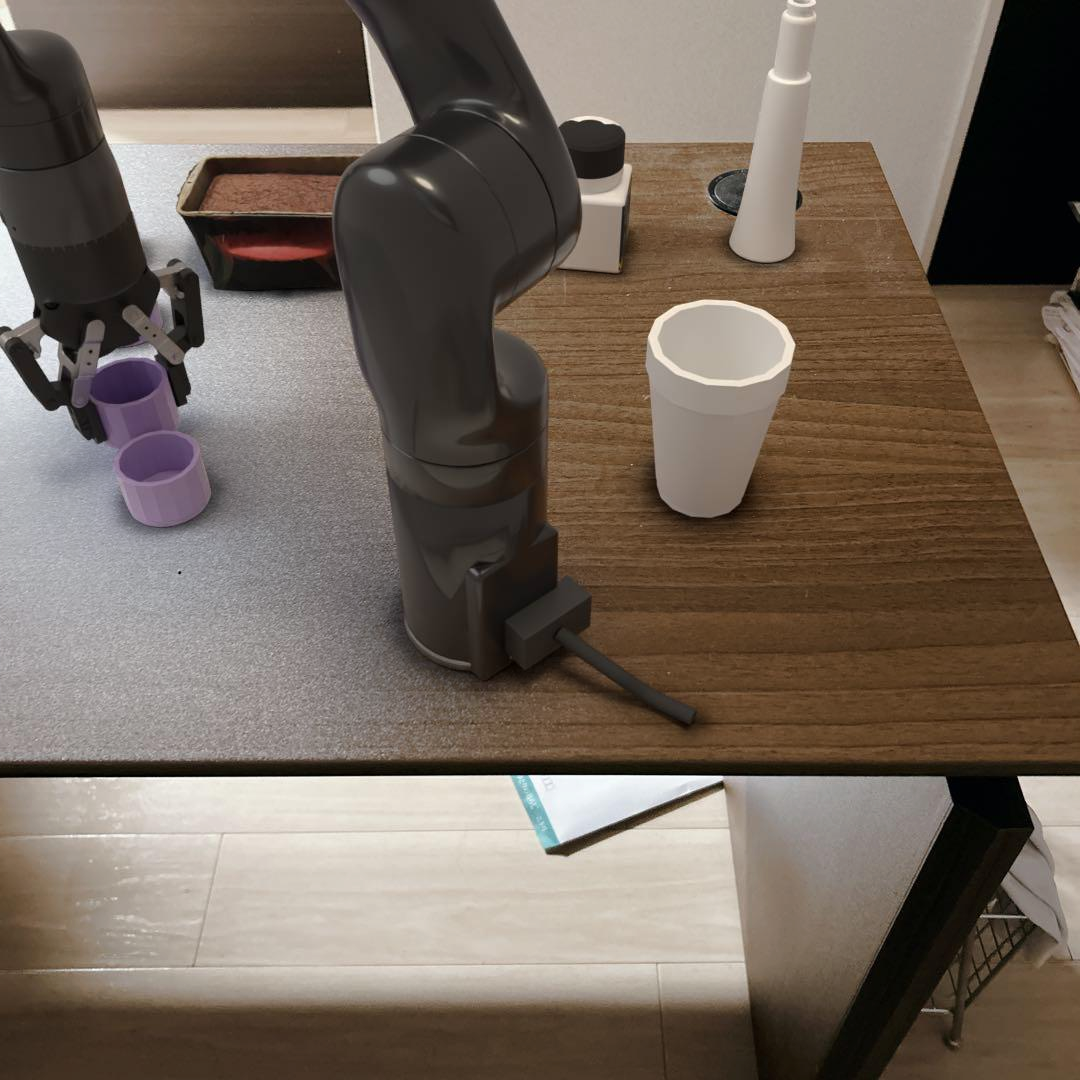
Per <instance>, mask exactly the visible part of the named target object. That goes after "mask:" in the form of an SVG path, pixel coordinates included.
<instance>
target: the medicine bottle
mask: <svg viewBox="0 0 1080 1080" xmlns="http://www.w3.org/2000/svg"><path fill="white" fill-rule="evenodd" d="M558 128H559V130H560V132H561V134H562V137H563V139H564V141H565V144H566V146H567V149H568V151H569V154H570V157H571V159H572V162H573V165H574V168H575V171H576V175H577V179H578V182H579V187H580V192H581V201H582V225H581V231H580V234H579V237H578V241H577V243H576V246H575V248H574V249H573V251H572V252H571V254H570V255H569V256H568V257H567V259H566V260H565V261H564V262H563V263H562V264H561V265H560V266H559V267H558V268H557V269H564V270H565V269H566V270H575V271H576V270H577V271H585V272H598V273H610V274H619V273H620V272H621V271H622V266H623V261H624V255H625V250H626V245H627V239H628V235H629V226H630V211H631V198H632V196H631V195H632V183H633V182H632V181H633V165H632V164H631V163H625V155H626V154H625V153H626V132H625V130H624V128H623V127H622V126H621V125H620V124H619V123H617V122H616V121H614V120H612V119H610V118H606V117H602V116H597V115H583V116H577V117H572V118H570V119H567V120H565V121H564V122H562V123H561V124H559V126H558Z"/></svg>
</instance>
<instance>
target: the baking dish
mask: <svg viewBox="0 0 1080 1080" xmlns="http://www.w3.org/2000/svg"><path fill="white" fill-rule="evenodd" d="M364 154H365V153H364ZM364 154H363V153H353V154H351V153H349V154H343V153H339V154H230V155H228V154H227V155H225V154H224V155H223V154H222V155H221V154H219V155H218V154H217V155H212V156H211V155H208V156H206V157H204V158H202V159H201V160H200V161H198V162H197V163H196V164H195V165H194V166H193V167H192V169H191V170H189V171H188V173H187V174H188V175H187V176H186V180H185V181H184V182H183V184H182V185H181V187H180V191H179V193H177V194H176V196H177V201H176V205H175V210H176V213H178V215H179V216H180V217H181V218H182V220H183V221H184V223H185V225H186V227H187V228H188V230H189V232H190V233H191V236H192V237H193V239H194V241H195V243H196V245H197V248H198V251H199V253H200V254H201V257H202V260H203V262H204V264H205V266H206V269H207V271H208V273H209V276H210V279H211V280H212V283H213V288H214V289H216V290H223V291H249V290H250V291H251V290H252V291H255V290H256V291H258V290H278V289H279V290H280V289H281V290H282V289H301V288H318V287H319V288H320V287H335V286H342V284H341V280H340V275H339V270H338V265H337V260H336V254H335V249H334V241H333V232H332V207H333V199H334V194H335V190H336V187H337V184H338V182H339V179H340V177H341V176H342V174H343V173H344V171H345V170H346V168H347V167H348V166H349V165H350V164H352V163H353V162H354V161H355V160H357V159H358V158H360V157H361V156H363V155H364Z"/></svg>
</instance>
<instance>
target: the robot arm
mask: <svg viewBox="0 0 1080 1080" xmlns="http://www.w3.org/2000/svg"><path fill="white" fill-rule="evenodd" d="M344 2H345V3H346V4H347V5H348V6H349V8H350V9H352V11H353V12H354V14H355V15H356V17H357V18H358V19H359V21H360V22H361V23H362V24H363V26H364V28H365V29H366V30H367V32H368V34H369V35H370V37H371V38H372V40H373V42H374V43H375V45H376V46H377V49H378V51H379V52H380V54H381V56H382V58H383V60H384V61H385V63H386V66H387V67H388V69H389V71H390V73H391V75H392V77H393V79H394V81H395V83H396V86H397V87H398V90H399V92H400V94H401V96H402V98H403V101H404V103H405V106H406V108H407V109H408V112H409V114H410V118H411V121H412V123H413V126H411V127H409V128H408V129H406V130H403V131H402V132H400V133H399V134H397V135H395V136H393V137H392V138H389V139H388V140H386V141H385V142H383V143H381V144H380V145H378V146H376V147H375V148H372V149H371V150H369V151H368V152H366V153H364V155H363V156H361V157H360V158H358V159H357V160H355V161H354V162H353V163H352V164H350V165H349V166H348V167H347V168H346V170H345V171H344V173H343V174H342V176H341V177H340V179H339V182H338V184H337V187H336V190H335V194H334V199H333V207H332V232H333V241H334V249H335V254H336V260H337V265H338V270H339V275H340V280H341V284H342V285H341V288H342V294H343V298H344V303H345V307H346V310H347V311H346V312H347V317H348V322H349V327H350V332H351V336H352V342H353V346H354V351H355V356H356V359H357V360H356V361H357V363H358V367H359V369H360V372H361V374H362V377H363V379H364V381H365V384H366V385H367V388H368V390H369V392H370V394H371V395H372V397H373V399H374V402H375V404H376V407H377V411H378V419H379V423H380V431H381V439H382V447H383V455H384V464H385V473H386V479H387V487H388V497H389V503H390V511H391V512H390V513H391V518H392V526H393V527H392V528H393V534H394V541H395V550H396V559H397V564H398V565H397V566H398V574H399V581H400V587H401V595H402V602H403V606H402V608H403V610H402V612H403V613H402V614H403V622H404V628H405V632H406V634H407V636H408V638H409V640H410V642H411V643H412V645H413V646H414V647H415V648H416V649H417V651H419V652H420V654H422V655H423V656H424V657H426V658H427V659H429V660H430V661H432V662H434V663H436V664H438V665H440V666H442V667H446V668H449V669H453V670H459V671H466V672H470V673H471V672H472V673H473V674H474V675H476V677H478V678H479V680H481V681H487V680H488V679H490V678H492V677H493V676H494V675H496V674H497V673H499V672H501V671H502V670H504V669H505V668H507V667H508V666H509V665H511V664H513V663H514V662H515V663H516V664H518V666H520V667H521V669H523V670H524V671H527V670H528V669H530V668H531V667H532V666H534V665H535V664H537V663H539V662H540V661H541V660H543V659H544V658H546V657H548V656H549V655H550V654H551V653H552V654H553V652H555V651H556V650H557V649H559V648H561V647H563V648H564V649H566V650H568V651H569V652H571V653H572V654H574V655H575V656H576V657H578V658H579V659H581V660H582V662H585V663H586V664H587V665H589V666H591V667H592V668H593V669H595V670H596V671H597V672H599V673H600V674H601V675H603V676H605V677H606V678H608V679H609V680H611V681H612V682H613V683H615V684H616V685H618V686H619V687H620V688H622V689H623V690H625V691H626V692H627V693H629V694H630V695H632V696H634V698H637V699H638V700H640V701H641V702H643V703H645V704H647V705H649V706H650V707H651V708H654V709H655V710H658V711H660V712H661V713H664V714H665V715H667V716H670V717H672V718H674V719H676V720H679V721H681V722H682V723H685V724H686V725H688V726H691V725H692V724H693V722H694V721H695V719H696V716H697V713H698V710H697V709H696V708H694V707H692V706H690V705H688V704H685V703H683V702H682V701H680V700H677V699H675V698H672V697H671V696H668V695H666V694H665V693H663V692H661V691H659V690H657V689H655V688H654V687H652V686H650V685H648V684H647V683H646V682H644V681H642V680H641V679H639V678H638V677H637V676H635V675H634V674H632V673H631V672H629V670H626V669H625V668H624V667H622V666H621V665H620V664H618V663H617V662H615V661H614V660H613V659H611V658H610V657H608V656H607V655H605V654H603V653H602V652H601V651H599V650H598V649H596V648H595V647H594V646H592V645H591V644H590V643H588V642H587V641H585V640H584V639H582V638H581V637H580V636H578V635H580V634H582V633H583V632H584V631H585V630H587V629H589V628H590V627H591V616H592V601H593V597H592V596H593V595H592V594H590V592H588V591H587V590H586V589H585V588H584V587H583V586H581V584H579V583H578V582H577V581H576V580H574V579H573V578H572V577H571V576H570V575H569V574H567V575H564V576H563V577H562V578H560V579H558V578H559V531H558V529H557V528H555V527H554V526H553V525H552V524H551V523H549V522H548V508H549V507H548V505H549V504H548V502H549V501H548V499H549V498H548V497H549V495H548V494H549V493H548V492H549V491H548V490H549V486H548V485H549V414H550V413H549V411H550V382H549V374H548V370H547V368H546V365H545V362H544V360H543V359H542V357H541V356H540V355H539V352H537V351H536V349H535V348H534V347H533V346H531V344H530V343H528V342H527V341H525V340H524V339H522V338H521V337H519V336H517V335H515V334H514V333H511V332H508V331H506V330H504V329H501V328H498V327H495V319H496V316H497V315H498V314H500V313H501V312H502V311H504V310H506V309H507V308H508V307H509V306H511V305H512V304H513V303H515V302H516V301H517V300H518V299H520V298H521V297H523V296H524V295H525V294H526V293H527V292H529V291H531V290H532V289H533V288H534V287H536V286H537V285H538V284H539V283H540V282H542V281H543V280H545V279H546V278H547V277H548V276H549V275H551V274H552V273H553V272H554V271H556V270H557V269H559V268H558V267H559V266H560V265H561V264H562V263H563V262H564V261H565V260H566V259H567V257H568V256H569V255H570V254H571V252H572V251H573V249H574V248H575V246H576V243H577V241H578V237H579V234H580V231H581V225H582V201H581V192H580V187H579V182H578V179H577V175H576V171H575V168H574V165H573V162H572V159H571V157H570V154H569V151H568V149H567V146H566V144H565V141H564V139H563V137H562V134H561V132H560V130H559V128H558V127H559V126H558V124H557V121H556V119H555V117H554V115H553V113H552V110H551V109H550V107H549V105H548V103H547V101H546V99H545V97H544V95H543V93H542V91H541V89H540V87H539V84H538V83H537V81H536V79H535V77H534V75H533V73H532V71H531V69H530V67H529V65H528V63H527V61H526V59H525V57H524V56H523V53H522V51H521V49H520V48H519V45H518V43H517V42H516V40H515V38H514V36H513V34H512V32H511V30H510V28H509V26H508V25H507V22H506V20H505V18H504V16H503V15H502V12H501V10H500V8H499V6H498V3H497V2H496V0H344ZM90 85H91V84H90V82H89V79H88V76H87V73H86V70H85V67H84V64H83V62H82V59H81V56H80V55H79V53H78V51H77V50H76V48H75V46H74V45H73V44H72V43H71V42H70V40H68V39H67V38H65V37H64V36H62V35H60V34H58V33H56V32H52V31H49V30H45V29H37V28H23V29H21V28H20V29H12V30H6V29H5V27H4V26H3V24H2V22H0V220H1V223H2V224H3V225H4V226H5V228H6V230H7V233H8V235H9V238H10V240H11V243H12V245H13V248H14V250H15V253H16V256H17V258H18V261H19V263H20V266H21V268H22V271H23V274H24V277H25V279H26V281H27V284H28V287H29V289H30V292H31V295H32V297H33V302H34V303H33V304H34V305H33V310H32V318H31V319H29V320H28V321H26V322H24V323H22V324H20V325H19V326H17V327H15V328H13V329H12V328H11V327H10V326H7V325H2V326H0V348H1V350H2V351H3V353H4V354H5V356H6V358H7V359H8V360H9V362H10V363H11V365H12V366H13V368H14V369H15V371H16V372H17V374H18V375H19V377H20V379H21V380H22V382H23V383H24V385H25V386H26V387H27V389H28V391H29V392H30V393H31V395H32V396H33V397H34V398H35V399H36V400H37V401H38V402H39V403H40V405H41V406H42V407H43V408H44V409H45V410H46V411H48V412H55V411H57V410H58V409H59V408H60V407H66V408H67V411H68V414H69V416H70V419H71V421H72V423H73V427H74V428H75V429H76V431H78V433H79V434H80V435H81V436H82V437H83V438H84V439H85V440H86V441H87V442H89V441H91V440H93V441H94V443H95V444H96V445H101V444H103V443H105V441H107V438H106V435H105V432H104V430H103V427H102V424H101V422H100V419H99V416H98V414H97V411H96V408H95V406H94V403H93V402H92V401H91V399H90V398H89V395H90V388H91V381H92V378H95V376H96V372H97V369H98V365H99V359H101V358H104V357H105V356H108V355H110V354H111V353H113V352H114V351H115V350H116V349H118V348H124V347H123V346H128V345H132V344H134V343H136V342H139V341H140V340H139V337H140V336H141V335H142V336H143V337H144V338H145V339H146V340H147V341H146V342H148V343H149V344H150V345H151V346H152V347H153V348H154V349H155V350H156V352H157V354H155V355H153V357H154V361H157V362H159V363H160V364H161V365H162V366H163V367H164V368H165V369H166V370H167V373H168V377H169V380H170V383H171V386H172V390H173V393H174V396H175V399H176V403H177V406H178V408H180V407H182V406H185V405H188V398H187V397H188V396H190V395H191V393H192V385H191V382H190V378H189V375H188V371H187V368H186V365H185V357H186V354H187V352H189V351H190V350H191V349H192V348H194V349H197V348H200V347H202V346H203V345H204V344H205V341H206V334H205V327H204V326H205V325H204V314H203V304H202V294H201V284H200V276H199V274H198V273H196V272H195V271H194V270H193V268H191V267H190V266H189V265H187V264H186V263H185V262H183V260H181V259H179V258H177V257H173V258H171V259H170V260H169V261H168V262H167V263H166V267H161V268H158V269H153V270H151V268H150V267H149V266H148V262H147V258H146V253H145V250H144V251H143V249H144V247H143V248H142V245H143V243H142V244H141V241H142V240H141V241H140V238H141V236H140V237H139V234H140V233H139V234H138V231H139V230H138V231H137V227H138V226H137V227H136V224H137V223H136V224H135V221H134V217H135V216H134V217H133V214H132V211H133V210H132V207H131V204H130V201H129V197H128V194H127V191H126V187H125V184H124V180H123V177H122V174H121V171H120V167H119V165H118V163H117V160H116V158H115V156H114V154H113V151H112V149H111V147H110V145H109V143H108V140H107V138H106V134H105V132H104V128H103V125H102V122H101V118H100V115H99V111H98V108H97V105H96V101H95V99H94V98H95V97H94V95H93V91H92V89H91V86H90ZM144 253H145V254H144ZM161 289H162V291H163V292H164V293H165V294H166V295H167V296H169V300H170V308H171V319H172V326H173V329H171V330H170V331H169V332H168V333H165V332H164V331H163V330H162V328H161V329H160V328H159V327H157V326H156V325H155V324H154V323H153V322H152V321H151V320H150V317H151V314H152V311H153V308H154V306H155V303H156V300H157V301H158V297H159V295H160V291H161ZM45 336H47V337H49V338H51V339H53V340H54V341H56V342H58V345H57V359H58V361H59V363H58V364H59V365H58V372H57V373H58V374H57V380H52V381H50V379H49V378H48V377H47V375H46V373H45V372H44V370H43V368H42V367H41V365H40V364H39V363H38V361H37V360H38V359H40V358H41V354H42V351H43V350H42V349H43V348H42V346H41V340H42V339H43V337H45Z"/></svg>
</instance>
